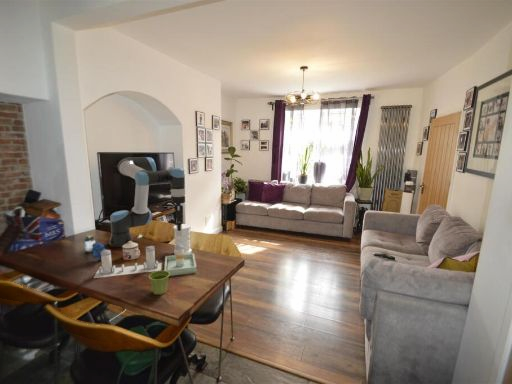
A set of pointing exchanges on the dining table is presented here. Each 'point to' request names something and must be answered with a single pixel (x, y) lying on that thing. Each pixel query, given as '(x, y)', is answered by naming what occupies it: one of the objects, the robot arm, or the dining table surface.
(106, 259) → the block
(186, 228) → the decorative container
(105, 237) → the dining table surface
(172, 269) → the tray
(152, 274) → the plant pot
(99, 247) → the grapes
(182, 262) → the cylinder
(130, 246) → the teacup with lid
